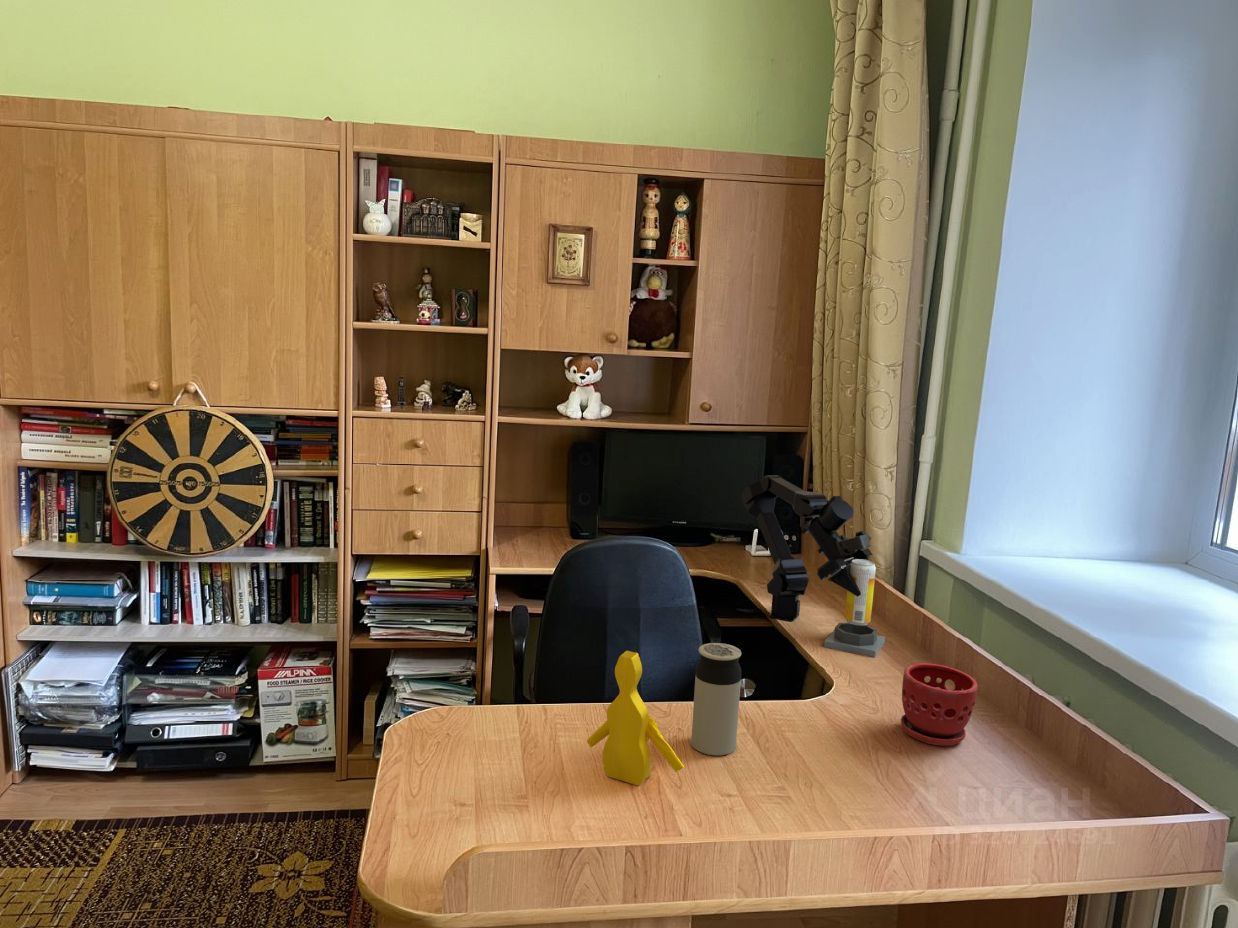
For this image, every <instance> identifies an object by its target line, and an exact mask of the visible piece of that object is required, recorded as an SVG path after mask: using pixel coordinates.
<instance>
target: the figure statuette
mask: <svg viewBox="0 0 1238 928" xmlns="http://www.w3.org/2000/svg"><path fill="white" fill-rule="evenodd" d="M642 674H643V666H642V662H641V658H640V656H639V653H638V652H634V651H630V650H626V651H624V652H623V653H621V654H620V656H619V657H618V659H617V662H616V665H615V667H614V676H615V679H616V682H617V686H618V688H619V693H618V695H617V696H616V697H615V699H614V700H613V701H612V702H611V703H610V704H609V706H608V707H607V709H606V719H607V720H605V722H604V723H603V724H602V725H600V726H599V727H598V729H596V730H595V731H594V732H593V733H592V734H591V735H590V736H589V737H588V738H587V739H586V742H587V744H588V746H589V747H590V748H593V747H594V746H596V745H597V744H598V743H600V742H601V741H602V740H604V739H605V738H606V737H607V738H606V741H605V743H604V746H603V749H602V750H603V751H602V765H603V770H604V773H605V775H606V776H607V777H608V778H612V779H616V780H618V781H622V782H626V783H628V784H631V785H634V786H638V787H639V786H641V785H642V784H643V783H644V781H646V780H647V779H648V778H650V776H651V766H652V765H651V764H652V761H651V760H652V759H651V757H652V756H651V751H650V747H649V743H648V741H649V739H650V741H651V742H652V743H653V744H654V746H655V747H656V749H658V751H659V752H660V754H661V755H662V756H663V758H664V759H665V760H666V762H668V765H670V767H671V768H672V770H673V771H674V772H675V773H677V772H680V771H681V770H682V769H684V768H685V766H684V764H683V763H682V762H681V759H679V756H678V755H677V754H676V753H675V751H674V749H673V748H672V747H671V745H670V744H669V742H667V741H666V740H665V738H664V736H663V734H662V733H661V731H660V729H659V726H658V725H657V723H656V720H655V719H654V718H653V717H652V716H650V714H649V709H648V708H647V706H646V704H645V703H644V701H643V699H642V698H641V696H640V694H639V692H638V684H639V682H640V679H641V678H642Z"/></svg>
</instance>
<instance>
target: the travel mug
mask: <svg viewBox="0 0 1238 928" xmlns="http://www.w3.org/2000/svg"><path fill="white" fill-rule="evenodd" d="M698 653H699V655H700V658H699V660H698V662H697V663H696V664H695V665H696V666H695V676H694V677H695V678H694V679H695V680H694V696H693V707H692V708H693V711H692V725H691V742H690V743H691V744H690V745H691V746H692V747H693V749H694V750H697V751H698V752H700V753H702V754H705V755H708V756H715V757H716V756H717V757H718V756H726V755H729V754H731V753H733V752H735V750H736V749H737V741H738V740H737V739H738V737H737V736H738V725H739V724H738V723H739V711H740V710H739V709H740V698H741V697H740V695H741V694H740V693H741V683H742V682H741V681H742V668H741V664H740V663H739V660H740V657H741V656H742V651H741V649H740V648H738V647H736V646H734V645H731V644H727V643H722V642H721V643H720V642H709V643H704V644H702V645H700V646H699V647H698Z"/></svg>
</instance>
